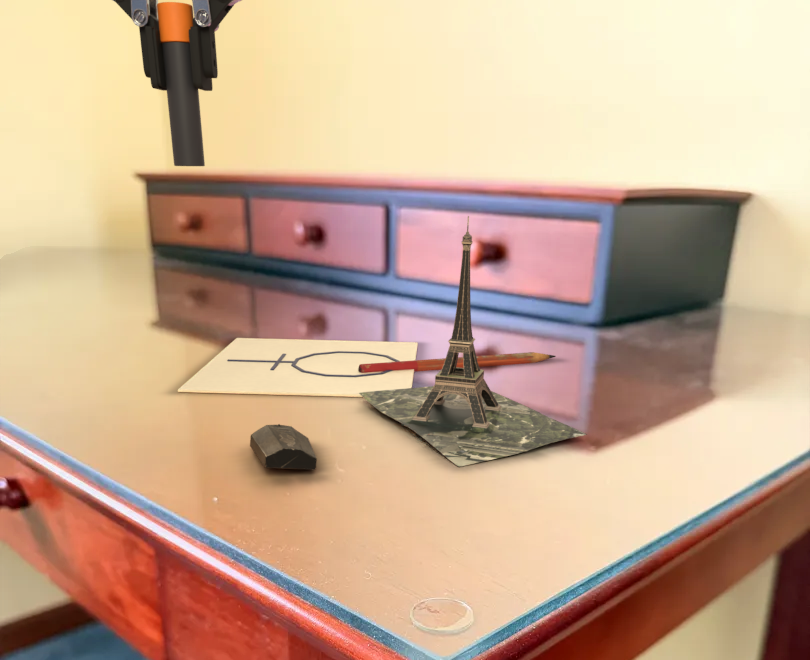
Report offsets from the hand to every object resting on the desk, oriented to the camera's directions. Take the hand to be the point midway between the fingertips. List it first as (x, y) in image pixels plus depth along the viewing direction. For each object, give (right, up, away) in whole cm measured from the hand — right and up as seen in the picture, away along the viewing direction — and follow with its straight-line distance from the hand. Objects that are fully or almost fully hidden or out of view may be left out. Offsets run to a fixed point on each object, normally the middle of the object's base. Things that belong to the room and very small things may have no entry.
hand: (182, 86), depth 64 cm
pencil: (+22, -20, +9) cm, 31 cm away
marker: (0, -5, +2) cm, 6 cm away
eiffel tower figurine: (+21, -27, -6) cm, 35 cm away
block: (+10, -31, -14) cm, 35 cm away
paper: (+9, -20, +8) cm, 23 cm away
